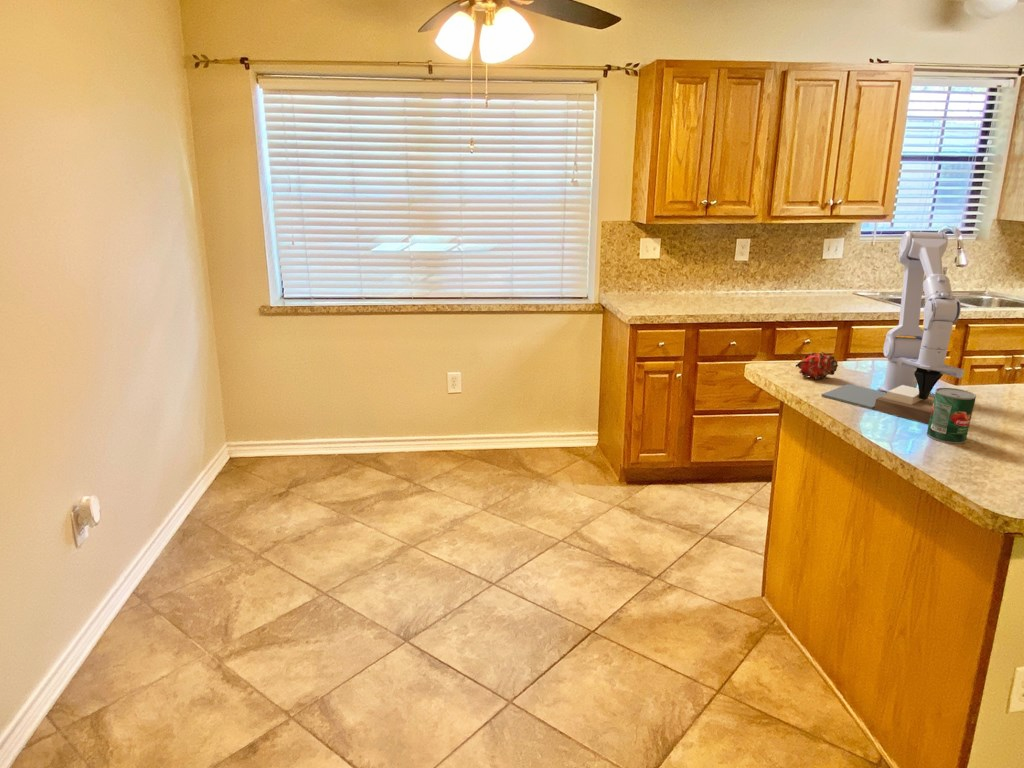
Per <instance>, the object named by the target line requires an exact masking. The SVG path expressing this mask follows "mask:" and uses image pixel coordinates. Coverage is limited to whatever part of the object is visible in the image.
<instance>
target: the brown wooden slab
mask: <svg viewBox="0 0 1024 768" xmlns="http://www.w3.org/2000/svg"><path fill="white" fill-rule="evenodd" d="M934 397H935V394H931V393H930V394H929V396H928V399H926V400H923V399H922V400H920V401H918V402H916V403H914V404H912V405H911V404H907V403H902V402H898V401H894V400H890V399H887V394H886V395H884V396H882V397H879V398H877V399H876V402H875V407H874V409H873V410H874V411H876V412H877V411H878V412H881V413H884V414H888V415H893V416H896V417H900V418H904V419H907V420H911V421H916V422H920V423H923V424H927V425H929V420H930V416H931V411H932V406H933V402H934Z"/></svg>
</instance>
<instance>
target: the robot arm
mask: <svg viewBox="0 0 1024 768" xmlns="http://www.w3.org/2000/svg"><path fill="white" fill-rule="evenodd" d="M948 243H949V238H948V235H947V234H946V232H945V231H943V232H942V231H940V232H939V231H938V232H932V231H931V232H930V231H927V232H926V231H911V230H907V231H905V232H904V233H903V235H902V236H901V239H900V241H899V249H898V263H900V264H901V265H903V281H902V289H901V301H900V309H899V310H900V311H899V319H898V324H897V326H894V327H893V328H890V329H889V330H888V331H887V333H886V335H885V340H884V343H883V351H882V352H883V356H884V357H885V358H886V359H887V366H886V369H885V377H884V381H883V385H881V386H879V387H877V389H876V390H877V391H881V392H886V393H888V391H890V390H892V389H894V388H897V387H899V386H901V385H905V386H909V387H914V388H918V389H919V399H923V400H926V399H928V396H929V394H931V392H932V390H933V389H934V387H935V385H936V384H937V383H938V382H939V381H940V379H941V378H942V377H943V375H945V376H951V377H955V378H956V379H961V378H963V377H964V374H965V368H964V369H963V368H959V367H955V366H952V365H949V364H945V363H946V362H945V361H946V359H947V358H946V357H947V353H948V348H949V343H950V338H951V335H952V330H953V326H954V324H956V323H957V321H958V320H959V319H960V318H959V317H960V315H961V309H962V307H961V300H960V299H959V298H957V297H956V296H954V294H953V291H952V286H951V282H950V277H948V276H947V275H945V274H944V273H943V272H944V271H943V269H944V268H943V259H942V258H943V256H944V254H945V252H946V251H947V248H948ZM923 292H924V298H925V299H924V300H925V305H924V308H923V323H922V327H923V328H924V329H922V328H921V327H920V317H921V307H922V299H923ZM901 336H902V337H901ZM917 386H918V387H917Z"/></svg>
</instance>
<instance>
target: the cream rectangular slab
mask: <svg viewBox="0 0 1024 768" xmlns="http://www.w3.org/2000/svg"><path fill="white" fill-rule="evenodd" d="M887 393H888V394H887V399H890V400H894V401H898V402H902V403H907V404H911V405H912V404H914V403H916V402H918V401H920V400H922V399H919V388H918V387H917V388H914V387H909V386H905V385H901V386H899V387H897V388H894V389H892V390H890V391H888V392H887Z"/></svg>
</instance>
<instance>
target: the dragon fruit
mask: <svg viewBox="0 0 1024 768" xmlns="http://www.w3.org/2000/svg"><path fill="white" fill-rule="evenodd" d="M797 367H798V369H800V370H799V374H801V376H804V377H807V376H810V377H809V378H814V379H815V380H818V379H820V378H821V380H822V379H826V377H827V376H828V375H829V376H833V375H835V372H836V371H837V369H838V367H839V365H838V360H836V359H835V357H834V356H831V355H830V354H829V355H827V354H826V353H825V352H823V351H821V353H817V352H814V351H813V352H811V354H805V356H804V357H803V358H802V359H801V360H800V361H799V362H797V364H796V365H795V368H797Z"/></svg>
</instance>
